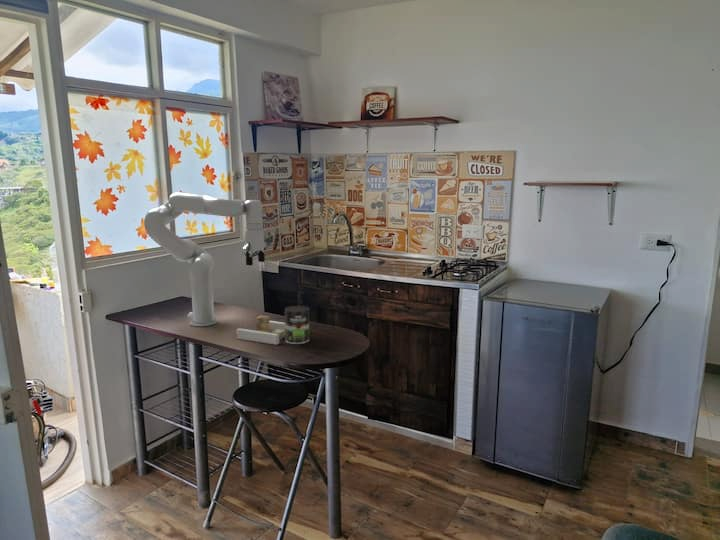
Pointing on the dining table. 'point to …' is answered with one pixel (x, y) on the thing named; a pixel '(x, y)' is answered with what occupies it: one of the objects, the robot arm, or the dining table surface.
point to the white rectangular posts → (261, 334)
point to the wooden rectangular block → (267, 326)
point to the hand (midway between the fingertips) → (255, 263)
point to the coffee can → (297, 324)
